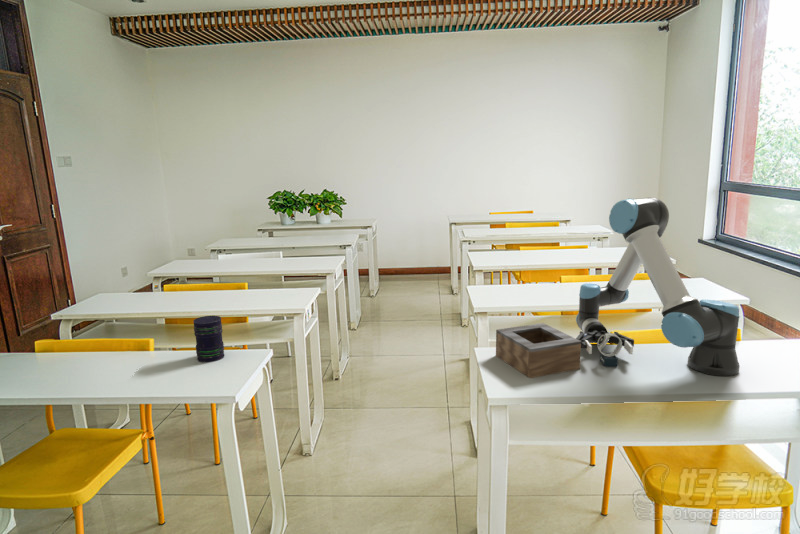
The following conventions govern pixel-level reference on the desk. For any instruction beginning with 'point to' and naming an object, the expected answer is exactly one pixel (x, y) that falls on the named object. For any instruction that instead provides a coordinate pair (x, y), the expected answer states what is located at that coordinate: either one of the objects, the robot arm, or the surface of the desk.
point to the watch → (608, 358)
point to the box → (538, 349)
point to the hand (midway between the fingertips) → (611, 350)
